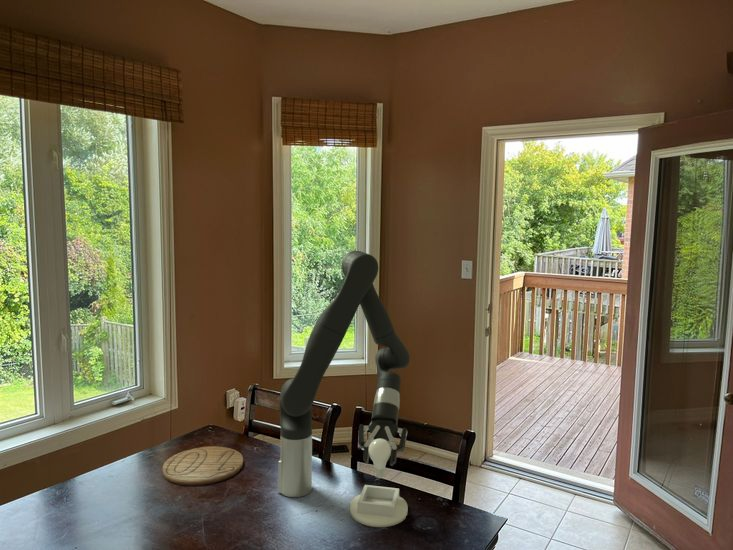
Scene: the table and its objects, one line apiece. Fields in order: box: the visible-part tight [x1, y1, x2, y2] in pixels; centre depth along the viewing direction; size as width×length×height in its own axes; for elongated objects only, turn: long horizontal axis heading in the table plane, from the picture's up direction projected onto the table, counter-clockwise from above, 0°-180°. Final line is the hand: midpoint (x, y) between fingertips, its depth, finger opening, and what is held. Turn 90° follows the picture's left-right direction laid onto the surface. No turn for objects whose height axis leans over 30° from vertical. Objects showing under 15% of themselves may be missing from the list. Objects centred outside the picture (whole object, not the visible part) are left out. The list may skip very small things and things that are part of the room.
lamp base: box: [349, 484, 409, 528], centre depth 145 cm, size 16×16×4 cm
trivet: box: [162, 446, 244, 486], centre depth 170 cm, size 25×25×2 cm
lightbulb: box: [368, 438, 392, 479], centre depth 144 cm, size 6×6×11 cm
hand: (378, 463), depth 143 cm, fingers closed on lightbulb, 6 cm apart
